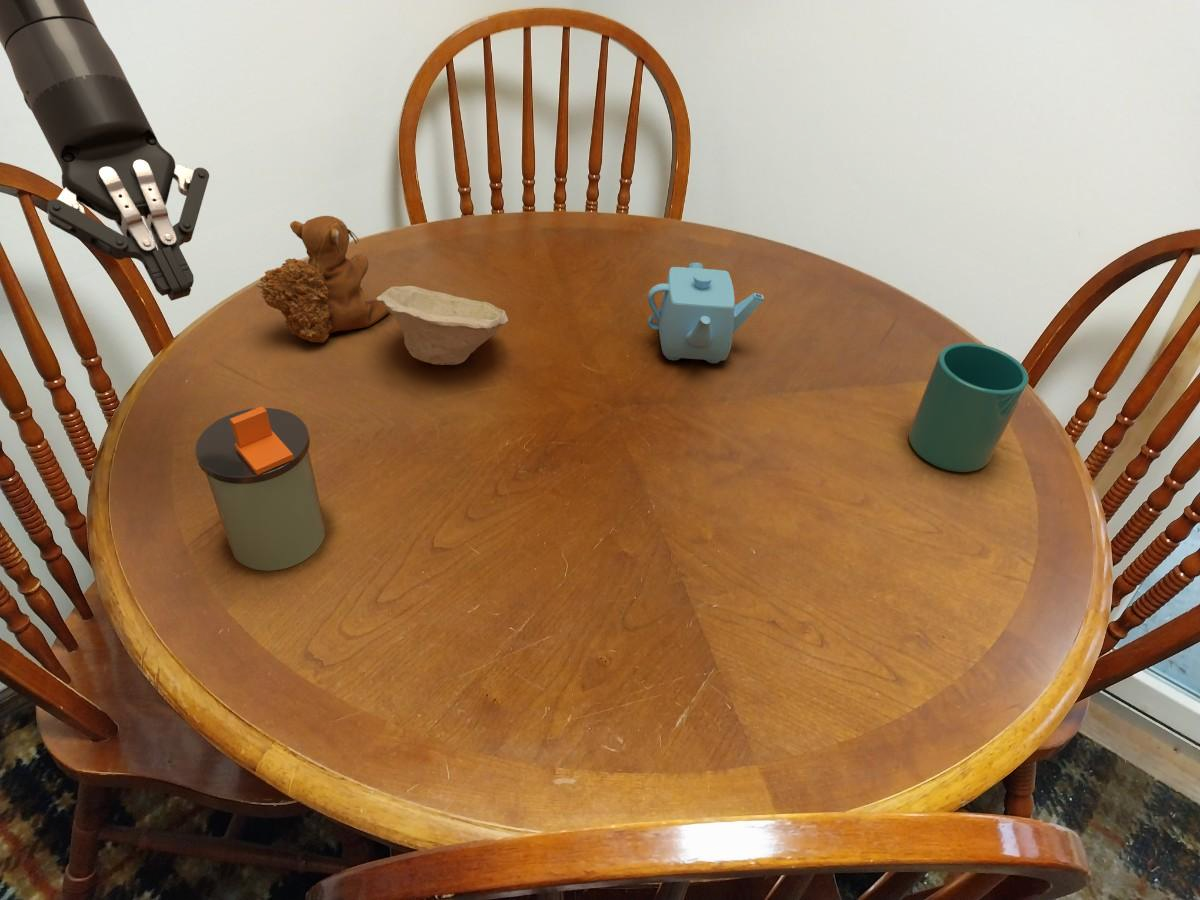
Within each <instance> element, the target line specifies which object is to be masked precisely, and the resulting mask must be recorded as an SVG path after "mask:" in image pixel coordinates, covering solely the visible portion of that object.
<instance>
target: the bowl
mask: <svg viewBox="0 0 1200 900" xmlns="http://www.w3.org/2000/svg"><path fill="white" fill-rule="evenodd" d="M376 300H377V301H378V302H380V303H382V304H383V305H384V306H385V307H386V309H387V310H388V311H389V313H390V315H392V316H393V317H394V319H395V320H396V322H397V323H398V325H399V327H400V329H401V331H402V333H403V339H404V341H403V344H404V345H405V348H406V350H407V351H408V353H409V354H410V355H411V356H412V358H414V359H416V360H418V361H421V362H424V363H428V364H432V365H440V366H444V365H446V366H447V365H448V366H449V365H450V366H451V365H452V366H455V365H460V364H462V363H464V362H466V360H467V359H468V358H469V356H470V355H471V354H472V353H474V352H475V351H476V349H478V348H479V347H480V346H481V345H483V344H484V343H485V342H486V341H488V340H489V339H491V337H493V335H495V334H496V333H497V332H499V330H500V329H501V328H502V326H504V325H506V324H508V322H509V318H508V315H507V314H506V311H505V310H503V308H502V309H501V308H499V307H497V306H495V305H493V304H492V303H490V302H486V301H479V300H474V299H470V298H466V297H462V296H461V297H459V296H455V295H452V294H448V293H445V292H441V291H437V290H436V291H435V290H429V289H426V288H423V287H419V286H415V285H405V286H404V285H403V286H391V287H389V288H388V289H387V290H385V291H384V292H382V293H381V294H380V295H378V296H377V297H376Z"/></svg>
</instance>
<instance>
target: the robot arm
mask: <svg viewBox="0 0 1200 900" xmlns="http://www.w3.org/2000/svg"><path fill="white" fill-rule="evenodd" d="M0 45H1V46H2V48H3V50H4V52H5V54H6V55H7V58H8V60H9V63H10V66H11V69H12V71H13V75H14V78H15V80H16V82H17V85H18V87H19V89H20V91H21V93H22V96H23V100H24V102H25V104H26V106H27V107H28V109H29V110H30V111H31V112H32V114H33V116H34V118H35V121H36V122H37V124H38V126H39V128H40V130H41V132H42V133H43V136H44V138H45V140H46V142H47V144H48V145H49V147H50V150H51V151H52V153H53V156H54V157H55V159H56V161H57V163H58V165H59V167H60V170H61V186H62V188H63V190H62V191H61V193H60V194H59V195H58V197H56V198H53V199H50V200H49V201H48V202H47V204H46V206H47V207H46V208H47V209H46V211H47V221H48V222H49V223H50V225H53V226H54V227H55V228H58V229H60V230H62V231H63V232H64V233H67V234H68V235H71V236H73V237H74V238H76V239H77V240H79V241H81V242H83V243H85V244H87V245H89V246H91V247H93V248H95V249H96V250H98V251H100V252H102V253H104V254H105V255H107V256H109V257H111V258H113V259H114V260H119V261H121V260H125V259H135V260H137V261H139V262H141V263H142V265H143V267H144V269H145V271H146V273H147V275H148V276H149V279H150V281H151V283H152V284H153V287H154V288H155V290H156V292H157V293H158V294H159V295H161V296H162V297H164V296H166V295H167V297H168V299H169V300H170V301H176V300H178V299H183V298H185V297H189V296H190V294H191V291H192V288H193V286H194V282H195V281H194V279H195V278H194V273H193V271H192V270H191V267H190V266H189V264H188V262H187V260H186V257H185V256H184V254H183V252H182V250H181V246H182V245H183V244H185V243H186V244H187V243H190V241H192V238H193V235H194V232H195V229H196V225H197V221H198V218H199V214H200V211H201V207H202V204H203V200H204V196H205V194H206V193H205V192H206V190H207V186H208V182H209V179H210V172H209V171H208V170H207V169H206V168H205V167H196V168H194V169H192V168H189V167H186V166H184V165H181V164H178V163H176V161H175V159H174V157H173V156H172V154H171V153H170V152H168V151H167V150H166V149H165V148H164V147H163V146H162V145H161V144H160V142H159V140H158V138H157V136H156V135H155V132H154V130H153V128H152V126H151V124H150V122H149V121H148V118H147V116H146V114H145V112H144V110H143V108H142V107H141V104H140V102H139V100H138V98H137V96H136V94H135V92H134V90H133V88H132V86H131V84H130V82H129V80H128V78H127V76H126V74H125V72H124V70H123V68H122V66H121V64H120V62H119V60H118V58H117V57H116V55H115V53H114V52H113V50H112V48H111V47H110V45H109V44H108V43H107V40H105V37H103V35H102V33H101V31H100V29H99V28H98V26H97V23H96V22H95V19H94V18H93V15H92V14H91V11H90V9H89V7H88V5H87V3H86V1H85V0H0ZM173 180H175V181H176V183H177V189H178V192H179V193H180V194H181V195H183V196H185V199H184V203H183V207H182V210H181V214H180V217H179V220H178V222H177V223H176V224H174V225H173V226H172V223H171V220H170V217H169V212H168V209H167V206H166V205H167V203H168V200H169V196H170V191H171V187H172V183H173ZM83 205H84V206H86V207H88V208H89V209H91V210H92V211H94V212H96V213H97V214H99V215H101V216H102V217H104V218H105V219H108V220H111V221H114V222H115V225H116V226H117V227H118V229H119V231H120V232H121V233H120V232H118V231H116V230H114V229H113V228H110V227H109V226H107V225H106V224H103V223H102V222H100V221H98V220H97V219H95V218H93V217H91V216H89V215H87V214H86V209H85V207H84V206H83ZM143 219H144V220H143Z"/></svg>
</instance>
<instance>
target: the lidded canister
mask: <svg viewBox="0 0 1200 900" xmlns="http://www.w3.org/2000/svg"><path fill="white" fill-rule="evenodd" d="M256 408H257V407H255V408H254V407H253V408H248V409H243V410H239V411H236V412H233V413H230V414H227V415H225V416H223V417H221V418H219V419H217V420H215V421H213V423H211V424H210V425H208V426H207V427H206V428H205V429H204V430H203V431H202V433H201V434H200V435H199V436H198V438H197V440H196V443H195V450H194V452H195V453H194V454H195V458H196V462H197V464H198V467H199V468H200V469H201V471H203V472H204V473H205V475H206V479H207V482H208V484H209V485H208V486H209V487H210V491H211V494H212V497H213V500H214V503H215V506H216V508H217V509H216V510H217V512H218V515H219V518H220V521H221V524H222V528H223V530H224V533H225V537H226V539H227V542H228V545H229V548H230V552H231V554H232V556H233V558H235V560H236V561H237V562H238V563H240V564H241V565H242V566H244V567H246V568H249V569H251V570H255V571H261V572H270V571H271V572H272V571H273V572H274V571H281V570H285V569H289V568H291V567H294V566H296V565H298V564H301V563H303V562H304V561H306V560H307V559H308V558H310V557H312V556H313V555H314V554H315V553H316V552H317V551H318V550H319V548H320V547H321V545H322V543H323V541H324V538H325V535H326V525H325V522H324V517H323V512H322V507H321V502H320V498H319V494H318V489H317V484H316V480H315V474H314V470H313V465H312V461H311V457H310V451H309V448H310V443H311V441H310V440H311V439H310V435H309V434H310V433H309V429H308V427H307V425H306V423H305V422H304V420H302V419H301V418H300V417H299V416H297V415H296V414H294V413H293V412H290V411H287V410H283V409H280V408H273V407H264V408H265V409H266V411H267V414H268V418H269V422H270V426H271V430H272V431H273V432H274V433H275V435H276V436H277V437H278V438H279V439H280V440H281V441H282V442H283V444H284V445H285V446H286V447H287V448H288V449H289V450H290V451H291V452H292V454H293V457H294V459H293V460H291V461H289V462H286V463H284V464H282V465H279V466H277V467H275V468H272V469H270V470H268V471H266V472H263V473H261V474H259V475H257V474H256V473H255V472H254V471H253V470H252V468H251V467H250V466H249V465H248V464H247V462H246V461H245V460H244V459H243V458H242V456H241V455H240V454H239V453H238V452H237V450H236V449H235V445H234V444H236V440H235V436H234V433H233V429H232V426H231V422H230V419H231V418H233V417H236V416H238V415H241V414H243V413H246V412H249V411H251V410H254V409H256Z"/></svg>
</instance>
